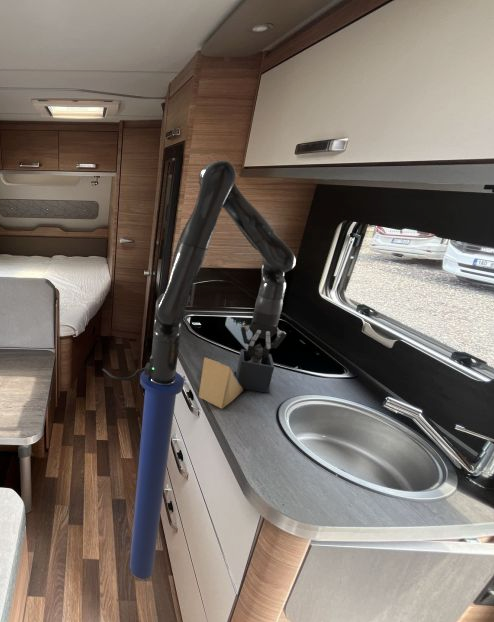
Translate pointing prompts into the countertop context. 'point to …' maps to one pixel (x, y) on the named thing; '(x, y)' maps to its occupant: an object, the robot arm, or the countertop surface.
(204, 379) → the sandwich container
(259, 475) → the countertop surface
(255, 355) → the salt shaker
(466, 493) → the countertop surface
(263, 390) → the trash bin
